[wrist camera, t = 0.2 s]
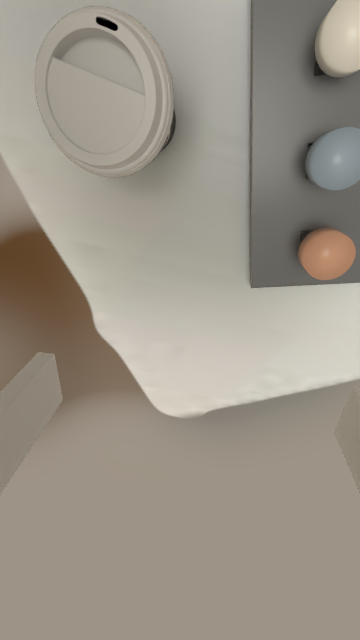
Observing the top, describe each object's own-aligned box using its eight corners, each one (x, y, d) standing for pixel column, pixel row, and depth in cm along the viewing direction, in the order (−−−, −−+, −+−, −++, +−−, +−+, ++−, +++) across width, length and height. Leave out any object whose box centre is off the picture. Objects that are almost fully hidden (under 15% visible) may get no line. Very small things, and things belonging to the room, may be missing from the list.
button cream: (311, 14, 25) (327, -12, 21) (374, 2, 24) (403, -26, 20) (306, 86, 27) (320, 74, 23) (363, 77, 26) (387, 64, 23)
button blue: (302, 134, 29) (315, 130, 25) (356, 127, 28) (377, 123, 24) (298, 188, 31) (309, 193, 27) (348, 183, 30) (366, 187, 27)
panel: (251, -2, 27) (253, -14, 25) (425, -36, 25) (441, -50, 23) (249, 282, 39) (251, 287, 38) (365, 276, 37) (372, 281, 36)
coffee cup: (209, 115, 31) (201, 85, 18) (152, 189, 35) (112, 208, 22) (137, 37, 29) (70, -61, 16) (85, 126, 33) (-3, 105, 20)
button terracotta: (295, 225, 33) (305, 234, 29) (343, 221, 32) (359, 230, 28) (292, 268, 35) (301, 281, 31) (336, 265, 34) (351, 278, 30)
